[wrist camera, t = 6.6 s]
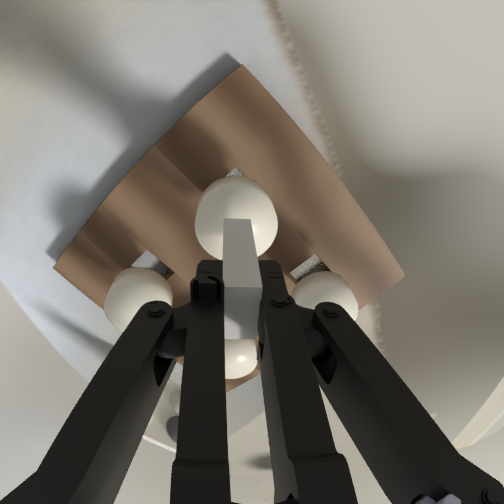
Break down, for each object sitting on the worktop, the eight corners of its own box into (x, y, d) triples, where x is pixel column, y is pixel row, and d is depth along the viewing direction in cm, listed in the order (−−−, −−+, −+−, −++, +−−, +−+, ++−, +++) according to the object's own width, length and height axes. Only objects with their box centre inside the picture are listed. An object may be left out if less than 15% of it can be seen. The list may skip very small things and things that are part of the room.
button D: (229, 301, 30) (230, 334, 26) (263, 329, 32) (268, 362, 28) (193, 328, 32) (190, 361, 28) (227, 353, 34) (228, 385, 30)
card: (126, 350, 33) (109, 415, 26) (203, 397, 38) (201, 458, 31) (108, 364, 35) (90, 426, 27) (182, 408, 40) (178, 466, 32)
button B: (321, 246, 26) (337, 277, 22) (352, 283, 28) (369, 314, 24) (273, 282, 27) (281, 317, 23) (307, 314, 29) (318, 348, 25)
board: (241, 65, 21) (242, 64, 20) (400, 269, 30) (405, 275, 29) (57, 261, 27) (52, 267, 26) (227, 384, 37) (227, 392, 36)
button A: (237, 153, 22) (239, 169, 18) (282, 203, 24) (294, 228, 20) (185, 199, 23) (177, 225, 19) (232, 244, 25) (233, 276, 21)
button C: (142, 242, 24) (128, 273, 21) (188, 281, 26) (182, 315, 23) (108, 278, 26) (92, 310, 22) (151, 312, 28) (142, 347, 24)
